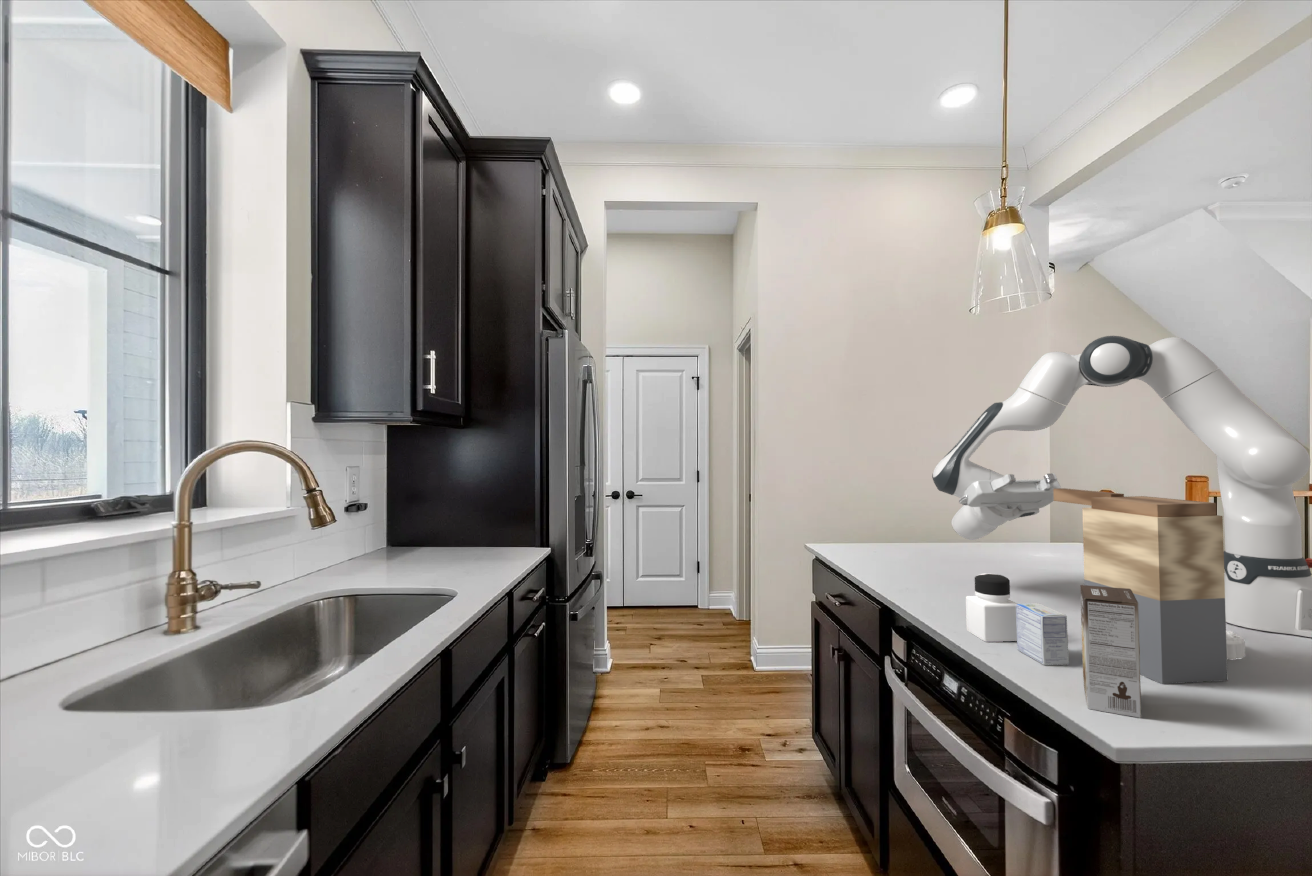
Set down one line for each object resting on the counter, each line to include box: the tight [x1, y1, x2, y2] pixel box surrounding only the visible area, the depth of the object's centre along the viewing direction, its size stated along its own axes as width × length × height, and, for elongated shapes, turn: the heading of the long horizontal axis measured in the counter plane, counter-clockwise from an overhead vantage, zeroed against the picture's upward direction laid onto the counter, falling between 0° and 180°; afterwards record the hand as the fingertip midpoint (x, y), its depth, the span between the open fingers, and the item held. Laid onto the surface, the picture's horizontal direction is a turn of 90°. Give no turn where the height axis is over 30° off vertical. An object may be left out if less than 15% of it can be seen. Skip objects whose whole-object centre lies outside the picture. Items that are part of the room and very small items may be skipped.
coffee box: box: [1080, 584, 1142, 719], centre depth 87 cm, size 9×6×16 cm
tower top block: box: [1081, 507, 1225, 601], centre depth 101 cm, size 11×15×13 cm
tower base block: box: [1083, 578, 1228, 685], centre depth 101 cm, size 11×15×13 cm
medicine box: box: [1016, 602, 1070, 666], centre depth 105 cm, size 8×4×9 cm, turn 179°
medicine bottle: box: [965, 573, 1019, 643], centre depth 117 cm, size 7×7×12 cm
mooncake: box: [1226, 629, 1246, 661], centre depth 109 cm, size 12×12×4 cm
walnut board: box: [1053, 487, 1217, 517], centre depth 108 cm, size 10×27×2 cm, turn 4°
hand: (1032, 476), depth 129 cm, fingers open, 8 cm apart
